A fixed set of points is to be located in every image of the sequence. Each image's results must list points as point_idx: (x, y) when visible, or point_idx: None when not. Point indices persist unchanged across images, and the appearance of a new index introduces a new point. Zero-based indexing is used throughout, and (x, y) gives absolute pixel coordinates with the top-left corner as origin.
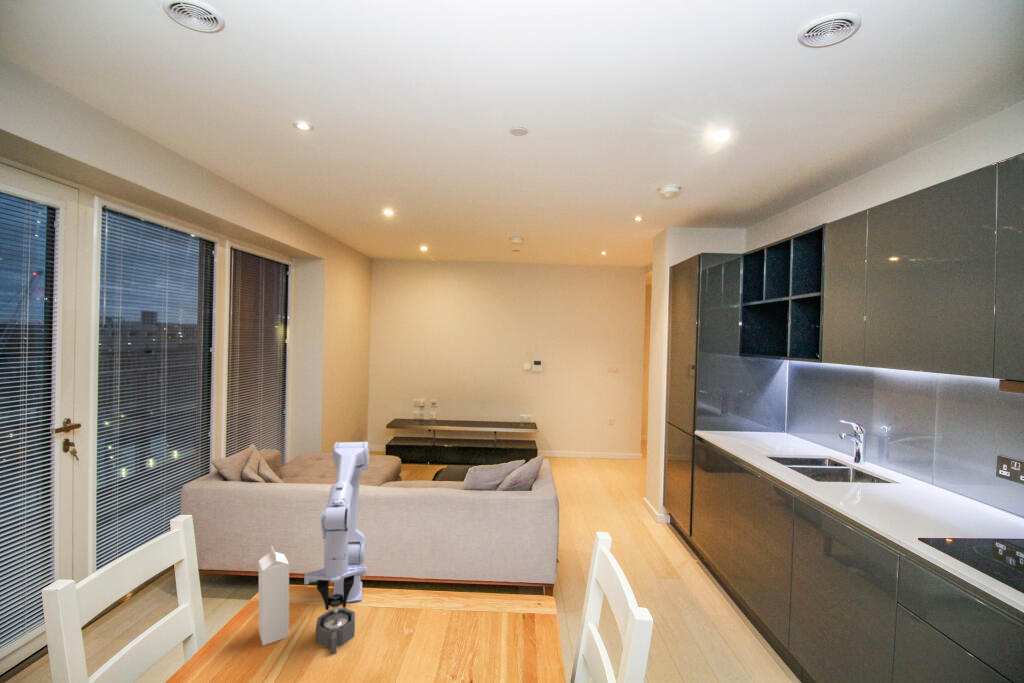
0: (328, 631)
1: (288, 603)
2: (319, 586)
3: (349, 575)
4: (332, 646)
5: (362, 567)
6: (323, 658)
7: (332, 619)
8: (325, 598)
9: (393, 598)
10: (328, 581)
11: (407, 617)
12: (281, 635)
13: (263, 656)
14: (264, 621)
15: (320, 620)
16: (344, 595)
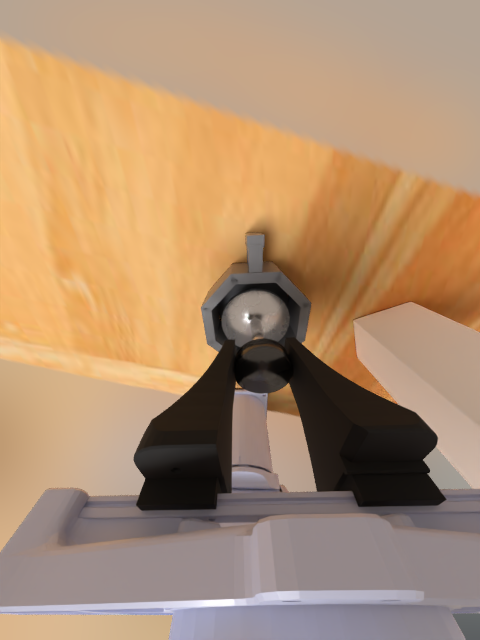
0: (274, 272)
1: (427, 381)
2: (416, 445)
3: (140, 556)
4: (257, 233)
5: (30, 612)
6: (278, 217)
7: (265, 329)
8: (317, 366)
9: (150, 386)
10: (321, 465)
11: (98, 330)
12: (375, 318)
13: (418, 263)
14: (476, 333)
15: (297, 328)
16: (223, 371)
